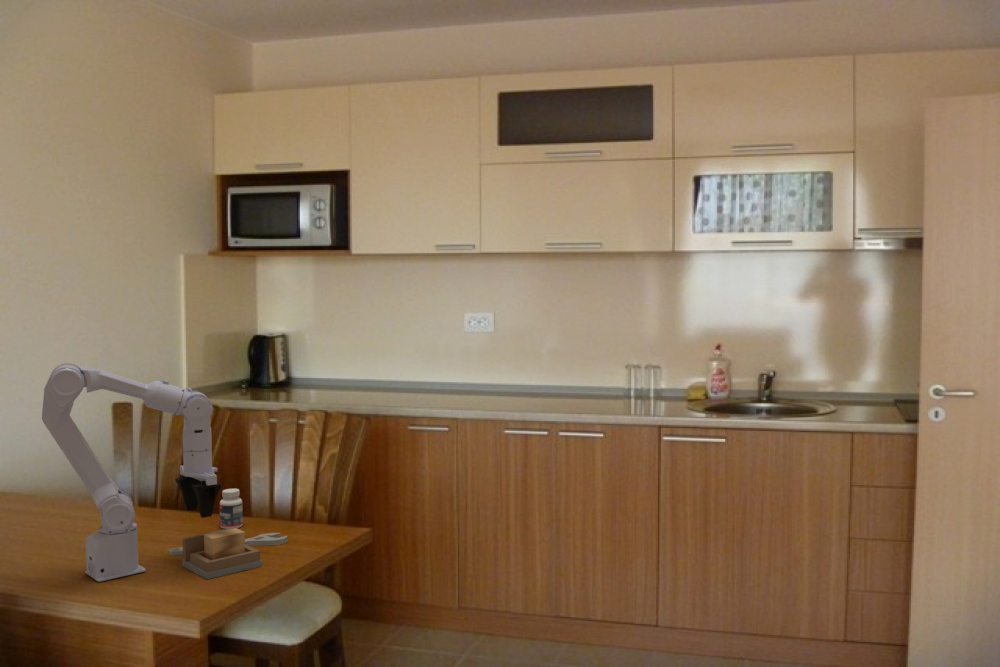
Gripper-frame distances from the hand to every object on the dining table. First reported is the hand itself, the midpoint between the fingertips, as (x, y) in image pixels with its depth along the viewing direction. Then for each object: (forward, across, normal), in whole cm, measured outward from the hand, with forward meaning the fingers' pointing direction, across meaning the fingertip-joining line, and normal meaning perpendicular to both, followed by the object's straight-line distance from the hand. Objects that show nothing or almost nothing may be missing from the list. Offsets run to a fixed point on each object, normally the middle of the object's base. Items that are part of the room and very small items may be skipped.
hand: (198, 513), depth 187 cm
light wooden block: (+9, -8, -2) cm, 12 cm away
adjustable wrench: (+11, +6, -10) cm, 16 cm away
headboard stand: (+10, -6, -2) cm, 12 cm away
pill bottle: (+10, +21, -17) cm, 29 cm away
